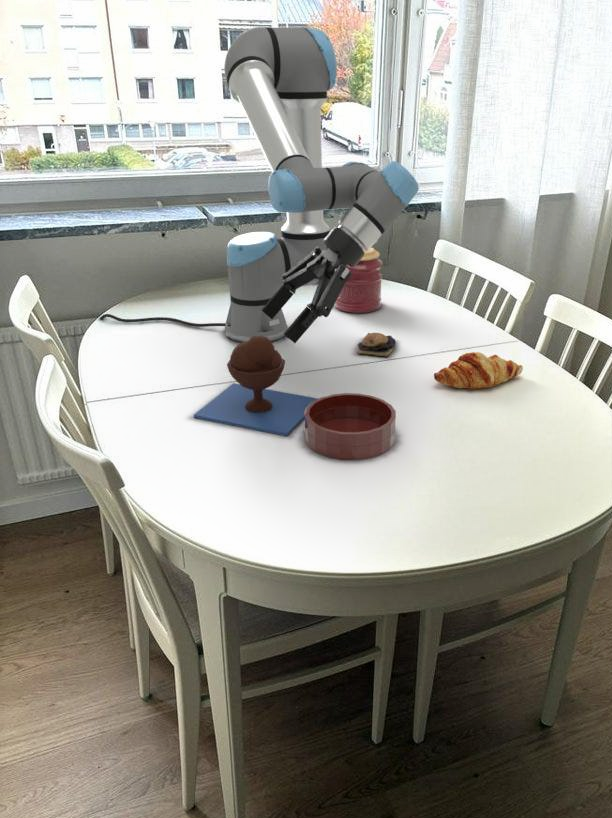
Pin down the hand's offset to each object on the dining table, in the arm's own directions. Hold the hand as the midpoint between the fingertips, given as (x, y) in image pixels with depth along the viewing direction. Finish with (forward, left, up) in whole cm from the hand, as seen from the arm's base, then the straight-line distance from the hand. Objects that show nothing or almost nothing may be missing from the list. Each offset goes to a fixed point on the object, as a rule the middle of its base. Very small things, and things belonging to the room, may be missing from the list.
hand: (277, 326), depth 138 cm
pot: (+18, -7, -17) cm, 25 cm away
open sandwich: (+8, +37, -17) cm, 41 cm away
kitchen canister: (-7, +64, -17) cm, 66 cm away
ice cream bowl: (-3, -3, -16) cm, 17 cm away
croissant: (+35, +27, -17) cm, 47 cm away
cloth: (-3, -3, -17) cm, 17 cm away
